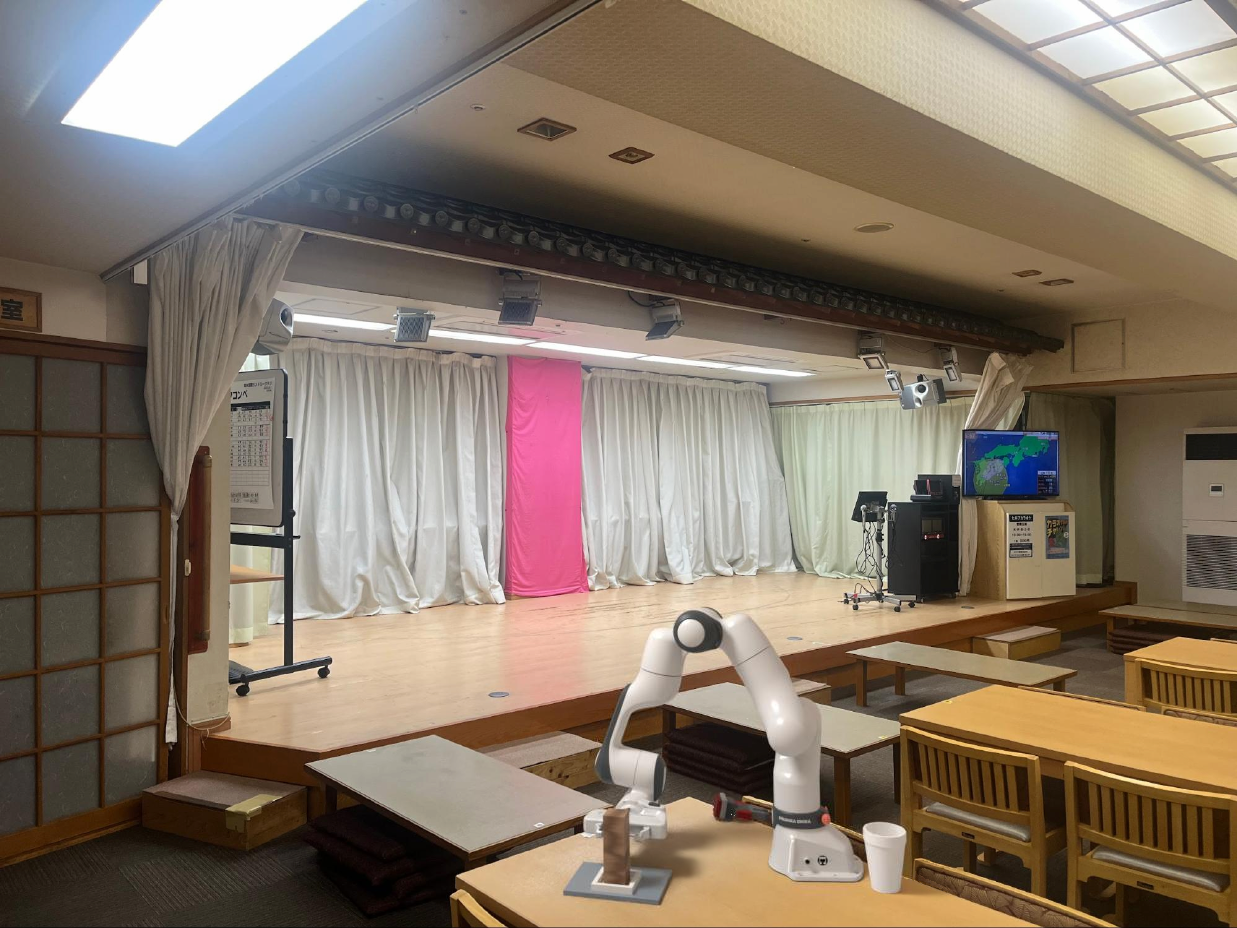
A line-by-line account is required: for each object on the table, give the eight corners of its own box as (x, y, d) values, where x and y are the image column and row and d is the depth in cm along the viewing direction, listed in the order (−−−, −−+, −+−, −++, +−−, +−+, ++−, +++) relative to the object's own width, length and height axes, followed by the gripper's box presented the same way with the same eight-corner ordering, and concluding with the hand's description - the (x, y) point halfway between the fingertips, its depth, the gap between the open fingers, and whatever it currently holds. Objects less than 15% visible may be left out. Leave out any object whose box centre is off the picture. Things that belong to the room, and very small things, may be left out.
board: (671, 874, 204) (671, 869, 204) (658, 904, 188) (658, 900, 188) (583, 865, 209) (583, 861, 209) (563, 894, 194) (563, 890, 194)
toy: (762, 821, 244) (711, 811, 244) (766, 799, 244) (715, 790, 244) (768, 833, 235) (715, 823, 235) (772, 810, 236) (719, 800, 235)
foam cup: (864, 893, 193) (863, 835, 193) (864, 876, 201) (862, 820, 202) (908, 898, 190) (907, 839, 191) (906, 880, 199) (905, 824, 200)
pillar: (630, 879, 199) (629, 809, 199) (624, 888, 194) (624, 817, 195) (609, 877, 200) (608, 807, 201) (603, 886, 195) (602, 815, 196)
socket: (641, 876, 200) (641, 870, 200) (632, 894, 191) (631, 888, 191) (602, 872, 203) (602, 866, 203) (591, 890, 193) (591, 883, 194)
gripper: (591, 799, 215) (575, 819, 202) (671, 805, 210) (660, 826, 197) (591, 825, 215) (575, 846, 201) (671, 831, 210) (660, 854, 196)
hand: (618, 836), depth 199 cm, fingers open, 8 cm apart
